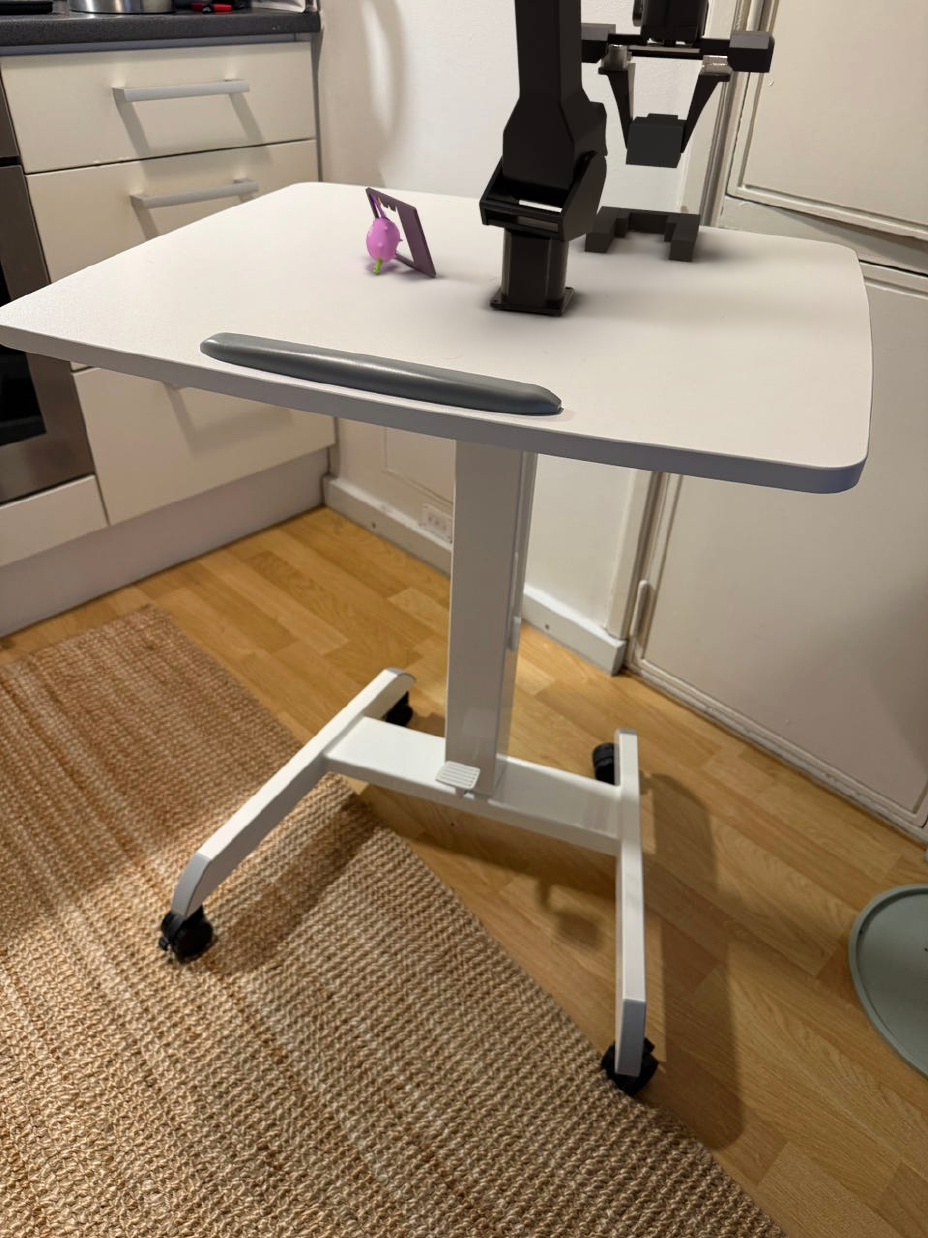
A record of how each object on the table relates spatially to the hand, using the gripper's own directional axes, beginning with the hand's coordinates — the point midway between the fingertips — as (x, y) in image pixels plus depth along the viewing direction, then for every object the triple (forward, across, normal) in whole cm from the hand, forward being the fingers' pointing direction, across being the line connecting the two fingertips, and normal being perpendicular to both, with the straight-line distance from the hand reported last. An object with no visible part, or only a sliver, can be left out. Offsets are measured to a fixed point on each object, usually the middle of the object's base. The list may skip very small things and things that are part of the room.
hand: (655, 150), depth 89 cm
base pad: (+9, 0, -2) cm, 10 cm away
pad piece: (+1, 0, -1) cm, 2 cm away
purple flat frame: (+10, +23, +15) cm, 29 cm away
